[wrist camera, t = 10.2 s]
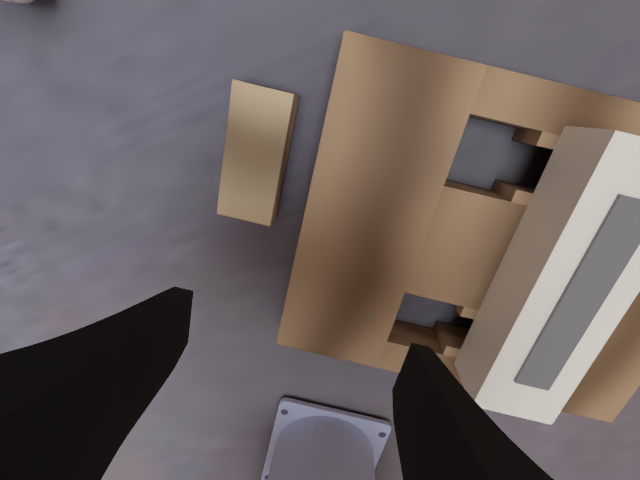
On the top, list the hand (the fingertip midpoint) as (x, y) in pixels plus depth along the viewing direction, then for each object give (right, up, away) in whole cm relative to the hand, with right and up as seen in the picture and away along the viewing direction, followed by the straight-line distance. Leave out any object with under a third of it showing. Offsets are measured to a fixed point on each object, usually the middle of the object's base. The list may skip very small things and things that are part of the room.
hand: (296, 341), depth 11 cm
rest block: (-2, +8, +7) cm, 11 cm away
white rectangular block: (+12, +2, +8) cm, 14 cm away
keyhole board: (+10, +3, +8) cm, 13 cm away
